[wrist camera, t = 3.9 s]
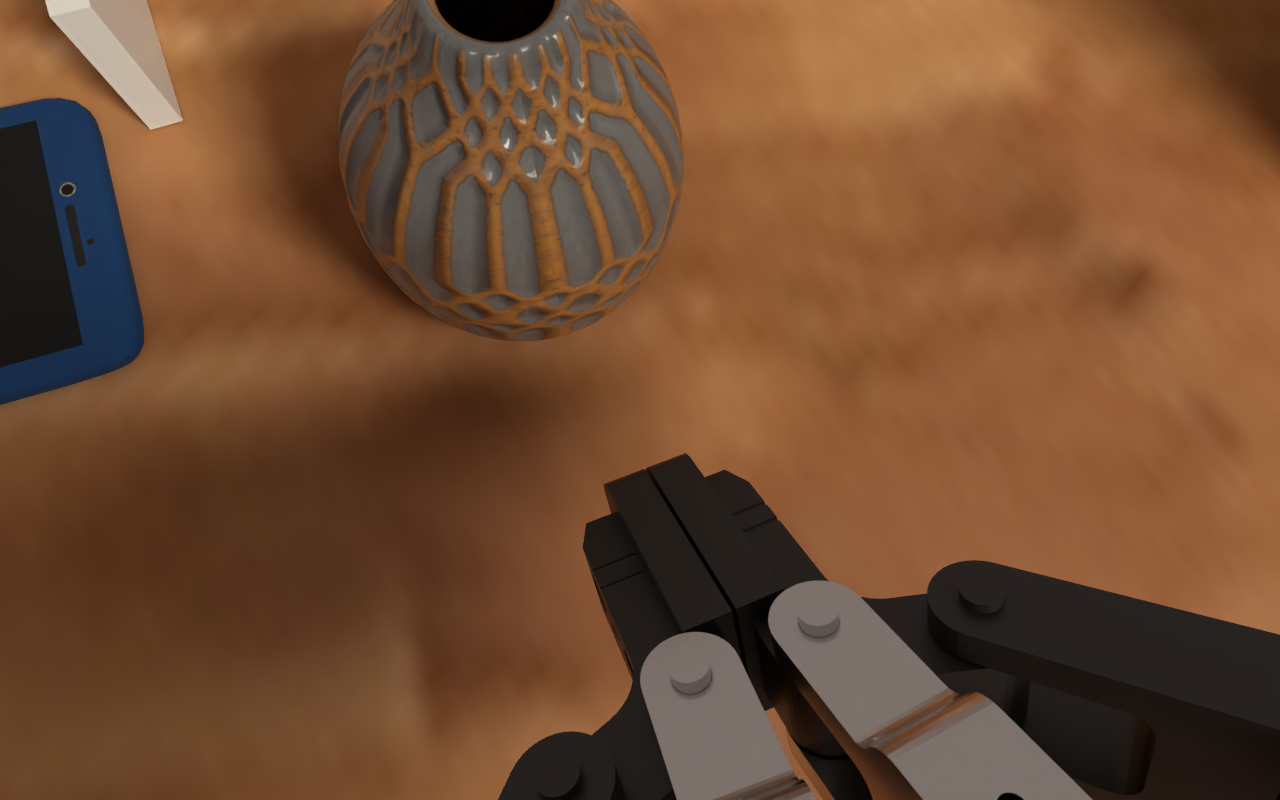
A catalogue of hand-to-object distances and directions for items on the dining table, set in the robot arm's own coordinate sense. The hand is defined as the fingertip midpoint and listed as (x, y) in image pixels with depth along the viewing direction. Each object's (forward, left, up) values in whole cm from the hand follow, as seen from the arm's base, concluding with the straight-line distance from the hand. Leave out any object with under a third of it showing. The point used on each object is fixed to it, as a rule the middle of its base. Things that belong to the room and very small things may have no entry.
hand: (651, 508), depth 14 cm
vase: (0, -8, -5) cm, 9 cm away
